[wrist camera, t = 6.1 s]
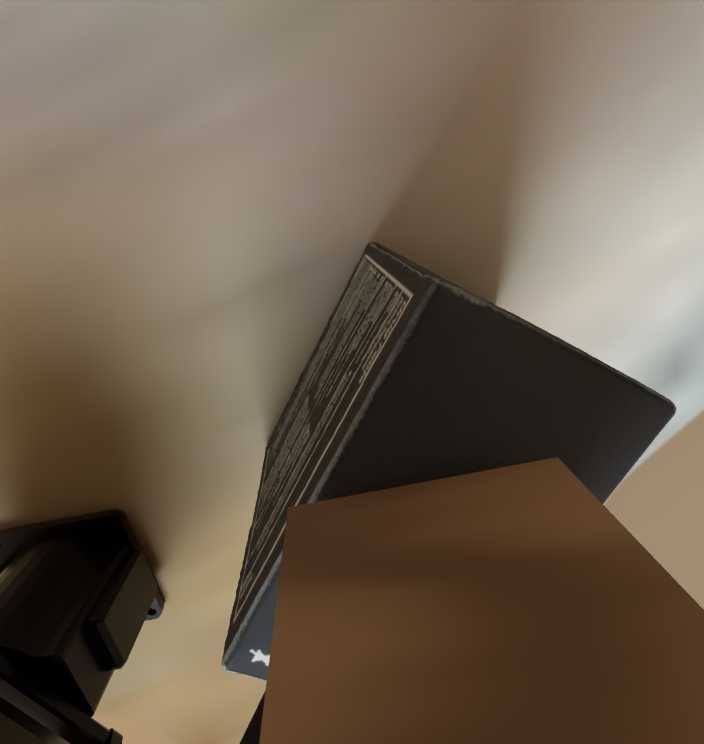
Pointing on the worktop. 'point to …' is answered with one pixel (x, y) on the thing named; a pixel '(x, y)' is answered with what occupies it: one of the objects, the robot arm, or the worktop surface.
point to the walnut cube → (479, 620)
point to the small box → (428, 415)
